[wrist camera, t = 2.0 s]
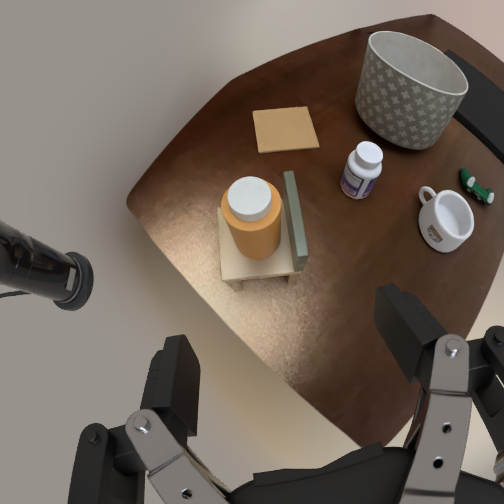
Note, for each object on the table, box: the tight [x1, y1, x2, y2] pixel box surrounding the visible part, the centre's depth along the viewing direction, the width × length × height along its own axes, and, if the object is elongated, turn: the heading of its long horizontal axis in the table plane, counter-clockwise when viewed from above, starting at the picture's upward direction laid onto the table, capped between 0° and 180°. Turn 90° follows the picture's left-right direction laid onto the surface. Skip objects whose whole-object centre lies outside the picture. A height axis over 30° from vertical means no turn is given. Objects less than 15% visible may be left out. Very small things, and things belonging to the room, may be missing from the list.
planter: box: [355, 31, 468, 150], centre depth 39 cm, size 19×19×18 cm
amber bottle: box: [221, 177, 281, 259], centre depth 27 cm, size 5×5×10 cm
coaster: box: [253, 107, 319, 154], centre depth 48 cm, size 11×11×1 cm
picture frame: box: [444, 49, 504, 164], centre depth 48 cm, size 40×2×33 cm
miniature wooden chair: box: [217, 171, 308, 291], centre depth 34 cm, size 9×9×16 cm
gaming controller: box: [460, 168, 494, 205], centre depth 40 cm, size 9×4×6 cm
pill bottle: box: [341, 142, 383, 199], centre depth 39 cm, size 5×5×10 cm
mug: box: [419, 187, 474, 253], centre depth 37 cm, size 12×10×6 cm
